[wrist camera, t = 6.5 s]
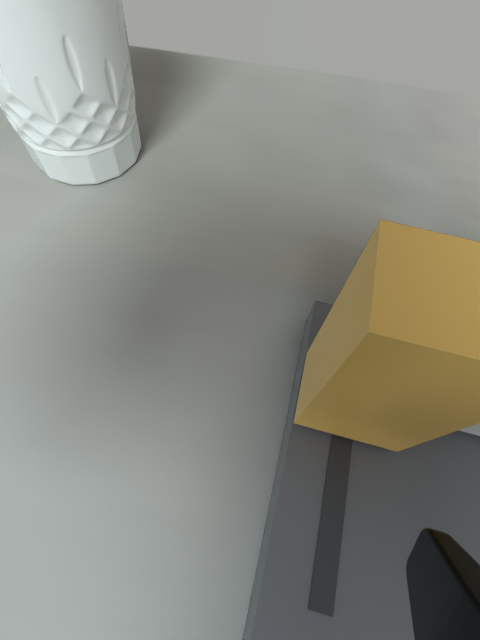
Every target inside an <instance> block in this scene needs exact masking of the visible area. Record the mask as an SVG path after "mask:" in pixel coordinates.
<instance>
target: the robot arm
mask: <svg viewBox="0 0 480 640" xmlns="http://www.w3.org/2000/svg"><path fill="white" fill-rule="evenodd" d="M406 577H407V585H408V593H409V600H410V608H411V616H412V624H413V631H414V639H415V640H480V565H479V564H478V563H477V562H476V561H475V560H474V559H473V558H472V557H471V556H470V555H469V554H468V553H467V552H466V551H465V550H464V549H463V548H462V547H461V546H460V545H459V544H458V543H457V542H456V541H455V540H454V539H453V538H452V537H451V536H450V535H449V534H447V533H445V532H442V531H438V530H435V529H432V528H424V529H423V530H422V531H421V532H420V534H419V536H418V538H417V540H416V542H415V544H414V547H413V549H412V551H411V553H410V555H409V557H408V560H407V564H406Z"/></svg>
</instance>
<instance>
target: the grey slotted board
mask: <svg viewBox="0 0 480 640" xmlns="http://www.w3.org/2000/svg"><path fill="white" fill-rule="evenodd" d="M332 307H333V305H330V304H326V303H322V302H318V301H315V303H314V305H313V307H312V309H311V312H310V314H309V316H308V318H307V320H306V325H305V330H304V335H303V340H302V345H301V350H300V355H299V360H298V365H297V370H296V375H295V380H294V385H293V390H292V395H291V400H290V405H289V410H288V415H287V420H286V425H285V430H284V435H283V440H282V445H281V450H280V455H279V460H278V465H277V470H276V475H275V480H274V485H273V490H272V495H271V501H270V506H269V511H268V516H267V521H266V526H265V531H264V536H263V541H262V546H261V551H260V556H259V561H258V566H257V571H256V576H255V581H254V586H253V591H252V596H251V601H250V606H249V611H248V616H247V621H246V626H245V631H244V636H243V640H415V639H414V631H413V624H412V616H411V608H410V600H409V593H408V585H407V577H406V564H407V560H408V557H409V555H410V553H411V551H412V549H413V547H414V544H415V542H416V540H417V538H418V536H419V534H420V532H421V531H422V530H423V529H424V528H432V529H435V530H438V531H442V532H445V533H447V534H449V535H450V536H451V537H452V538H453V539H454V540H455V541H456V542H457V543H458V544H459V545H460V546H461V547H462V548H463V549H464V550H465V551H466V552H467V553H468V554H469V555H470V556H471V557H472V558H473V559H474V560H475V561H476V562H477V563H478V564H479V565H480V436H478V435H474V434H470V433H466V432H463V431H459V430H458V431H455V432H452V433H450V434H447V435H444V436H441V437H438V438H435V439H432V440H430V441H427V442H424V443H421V444H418V445H415V446H412V447H409V448H407V449H404V450H401V451H398V452H396V451H393V450H389V449H385V448H382V447H378V446H374V445H371V444H367V443H363V442H360V441H356V440H353V439H349V438H345V437H342V436H338V435H334V434H331V433H327V432H323V431H320V430H316V429H313V428H309V427H305V426H302V425H298V424H294V417H295V412H296V407H297V402H298V396H299V391H300V386H301V380H302V375H303V370H304V365H305V359H306V354H307V352H308V350H309V348H310V347H311V345H312V343H313V341H314V339H315V337H316V336H317V334H318V332H319V330H320V328H321V327H322V325H323V323H324V321H325V319H326V318H327V316H328V314H329V312H330V310H331V308H332Z"/></svg>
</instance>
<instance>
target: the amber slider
mask: <svg viewBox="0 0 480 640" xmlns="http://www.w3.org/2000/svg"><path fill="white" fill-rule="evenodd" d="M478 423H480V242H477V241H473V240H468V239H464V238H459V237H455V236H451V235H446V234H442V233H438V232H433V231H429V230H425V229H420V228H416V227H412V226H407V225H403V224H398V223H394V222H390V221H385V220H380V221H379V223H378V225H377V227H376V229H375V230H374V232H373V234H372V236H371V238H370V240H369V241H368V243H367V245H366V247H365V249H364V250H363V252H362V254H361V256H360V258H359V259H358V261H357V263H356V265H355V267H354V269H353V270H352V272H351V274H350V276H349V278H348V279H347V281H346V283H345V285H344V287H343V288H342V290H341V292H340V294H339V296H338V298H337V299H336V301H335V303H334V305H333V307H332V308H331V310H330V312H329V314H328V316H327V318H326V319H325V321H324V323H323V325H322V327H321V328H320V330H319V332H318V334H317V336H316V337H315V339H314V341H313V343H312V345H311V347H310V348H309V350H308V352H307V354H306V359H305V365H304V370H303V375H302V380H301V386H300V391H299V396H298V402H297V407H296V412H295V417H294V424H298V425H302V426H305V427H309V428H313V429H316V430H320V431H323V432H327V433H331V434H334V435H338V436H342V437H345V438H349V439H353V440H356V441H360V442H363V443H367V444H371V445H374V446H378V447H382V448H385V449H389V450H393V451H396V452H398V451H401V450H404V449H407V448H409V447H412V446H415V445H418V444H421V443H424V442H427V441H430V440H432V439H435V438H438V437H441V436H444V435H447V434H450V433H452V432H455V431H458V430H461V429H464V428H467V427H470V426H472V425H475V424H478Z"/></svg>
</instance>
